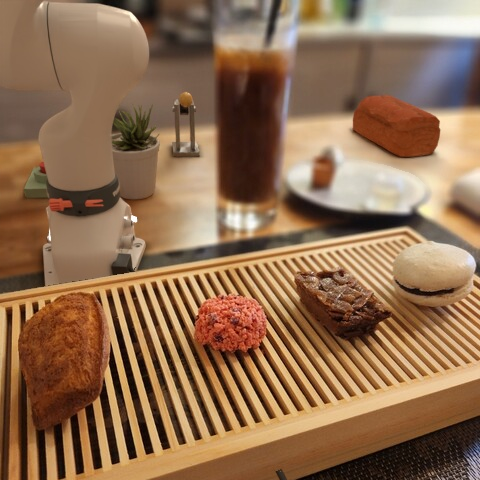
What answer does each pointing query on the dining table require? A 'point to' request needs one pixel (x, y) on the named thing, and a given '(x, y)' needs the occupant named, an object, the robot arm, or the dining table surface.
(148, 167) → the potted plant
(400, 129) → the bread
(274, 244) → the dining table surface
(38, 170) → the green button base
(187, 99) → the lever
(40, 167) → the lock button
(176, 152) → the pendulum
